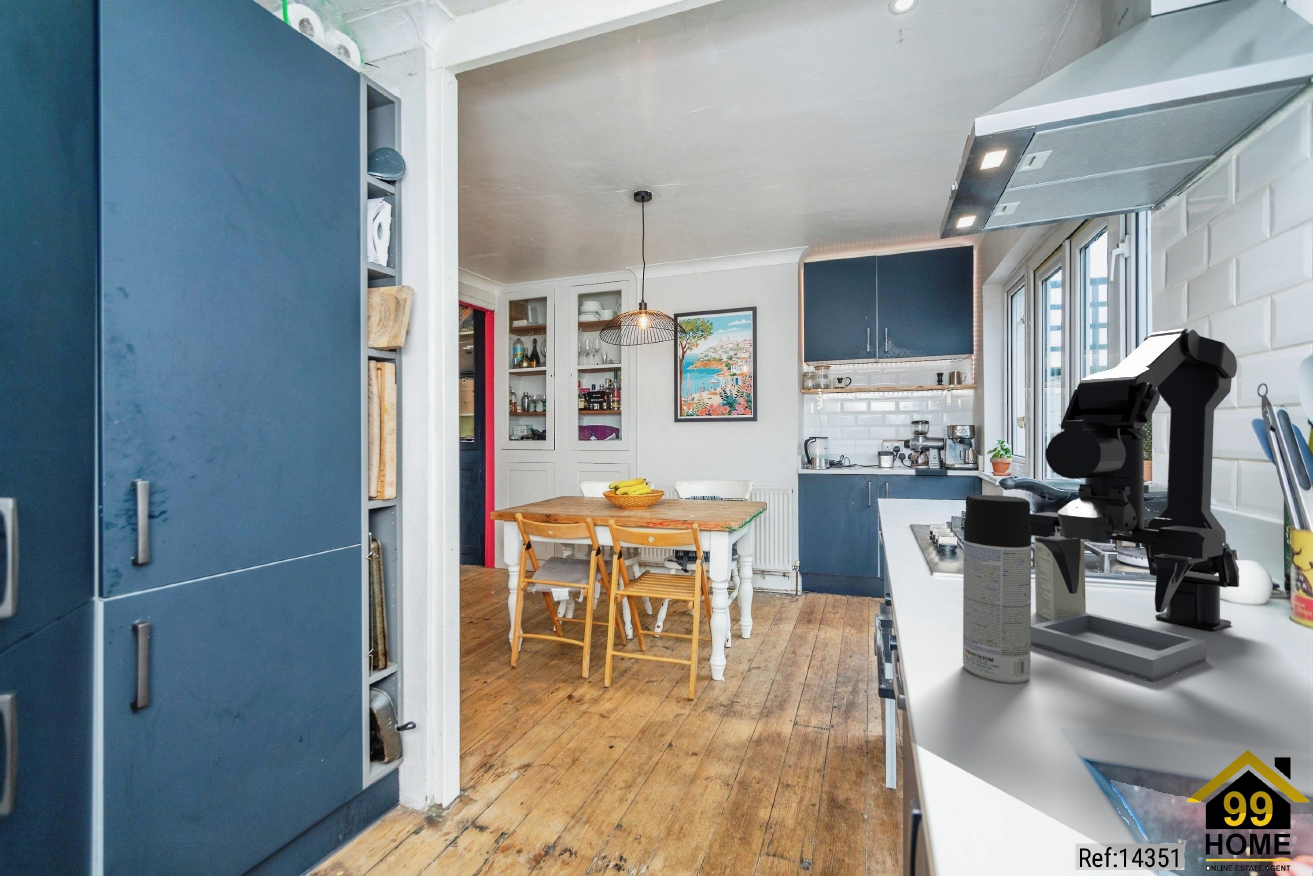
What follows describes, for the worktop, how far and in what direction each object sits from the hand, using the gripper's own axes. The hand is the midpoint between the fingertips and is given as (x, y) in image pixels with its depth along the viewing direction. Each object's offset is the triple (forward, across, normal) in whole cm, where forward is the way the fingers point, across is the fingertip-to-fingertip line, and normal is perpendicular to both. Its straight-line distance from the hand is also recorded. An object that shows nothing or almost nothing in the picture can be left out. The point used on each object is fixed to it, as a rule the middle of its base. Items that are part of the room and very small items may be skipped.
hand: (1113, 602), depth 71 cm
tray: (+6, 0, 0) cm, 6 cm away
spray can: (+7, -3, -19) cm, 20 cm away
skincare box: (+7, -11, +9) cm, 16 cm away
